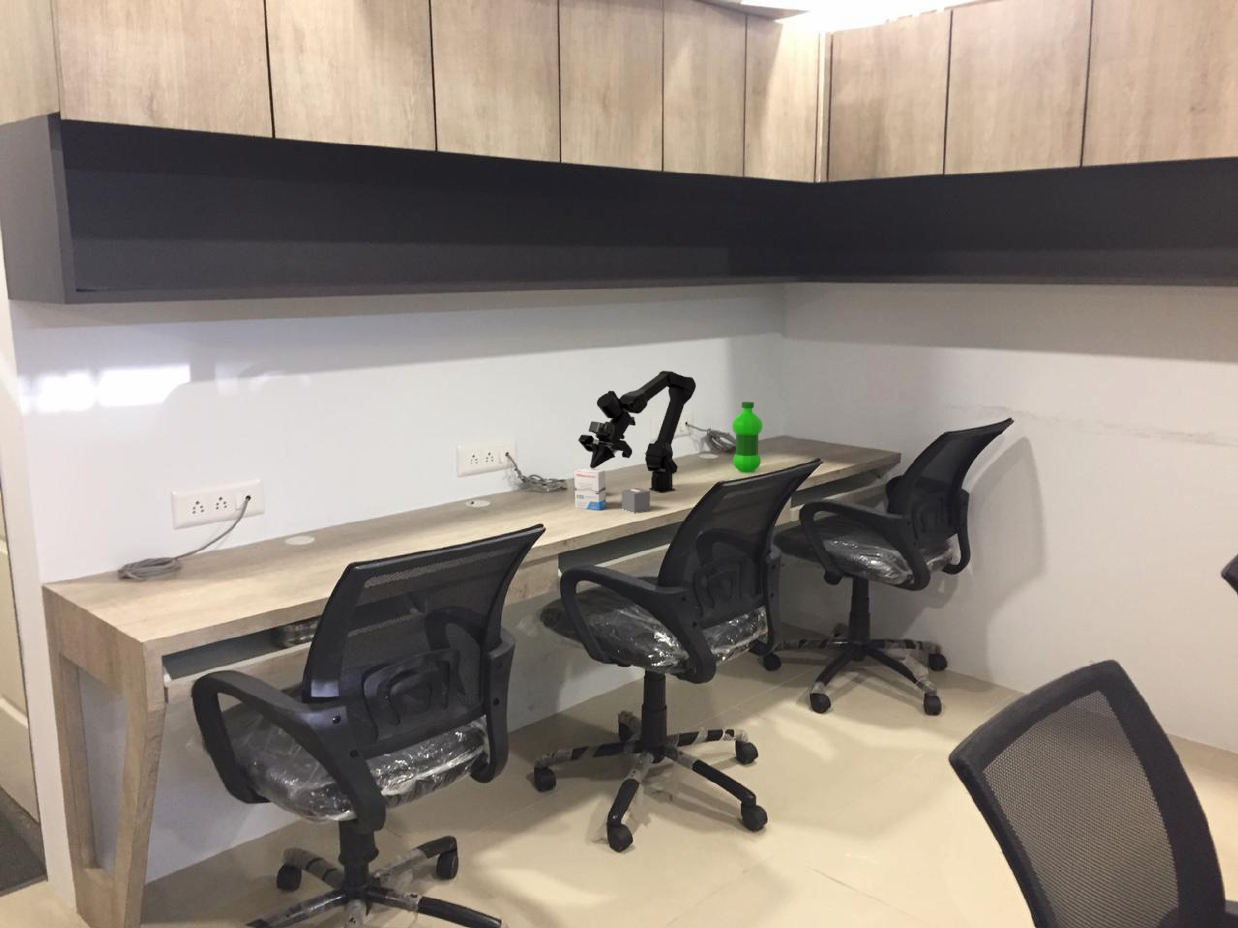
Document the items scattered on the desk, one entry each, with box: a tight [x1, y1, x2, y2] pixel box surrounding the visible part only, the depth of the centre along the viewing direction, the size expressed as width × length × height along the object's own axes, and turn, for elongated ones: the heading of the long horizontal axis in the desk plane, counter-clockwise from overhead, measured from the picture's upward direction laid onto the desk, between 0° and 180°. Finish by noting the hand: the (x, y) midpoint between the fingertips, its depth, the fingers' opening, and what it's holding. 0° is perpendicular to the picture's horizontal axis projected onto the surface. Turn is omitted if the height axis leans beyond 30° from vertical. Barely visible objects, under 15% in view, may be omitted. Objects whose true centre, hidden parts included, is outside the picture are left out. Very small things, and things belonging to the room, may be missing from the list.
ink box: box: [573, 468, 607, 511], centre depth 301 cm, size 9×5×12 cm, turn 63°
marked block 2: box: [621, 487, 651, 514], centre depth 298 cm, size 6×6×6 cm
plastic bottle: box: [732, 401, 763, 474], centre depth 354 cm, size 10×10×25 cm
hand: (591, 467), depth 300 cm, fingers closed
